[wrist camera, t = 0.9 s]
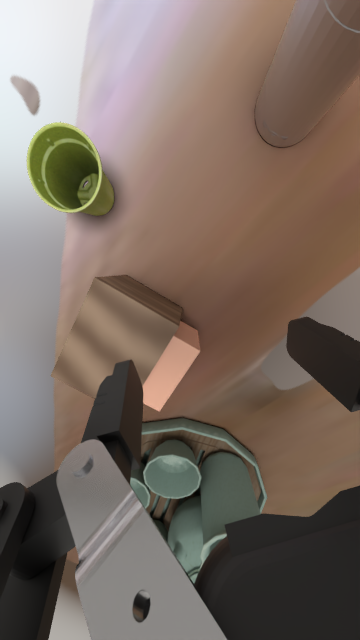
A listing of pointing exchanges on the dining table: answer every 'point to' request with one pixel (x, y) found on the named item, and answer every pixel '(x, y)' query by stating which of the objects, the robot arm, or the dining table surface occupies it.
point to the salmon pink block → (171, 366)
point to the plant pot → (68, 171)
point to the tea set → (195, 485)
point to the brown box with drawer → (116, 333)
